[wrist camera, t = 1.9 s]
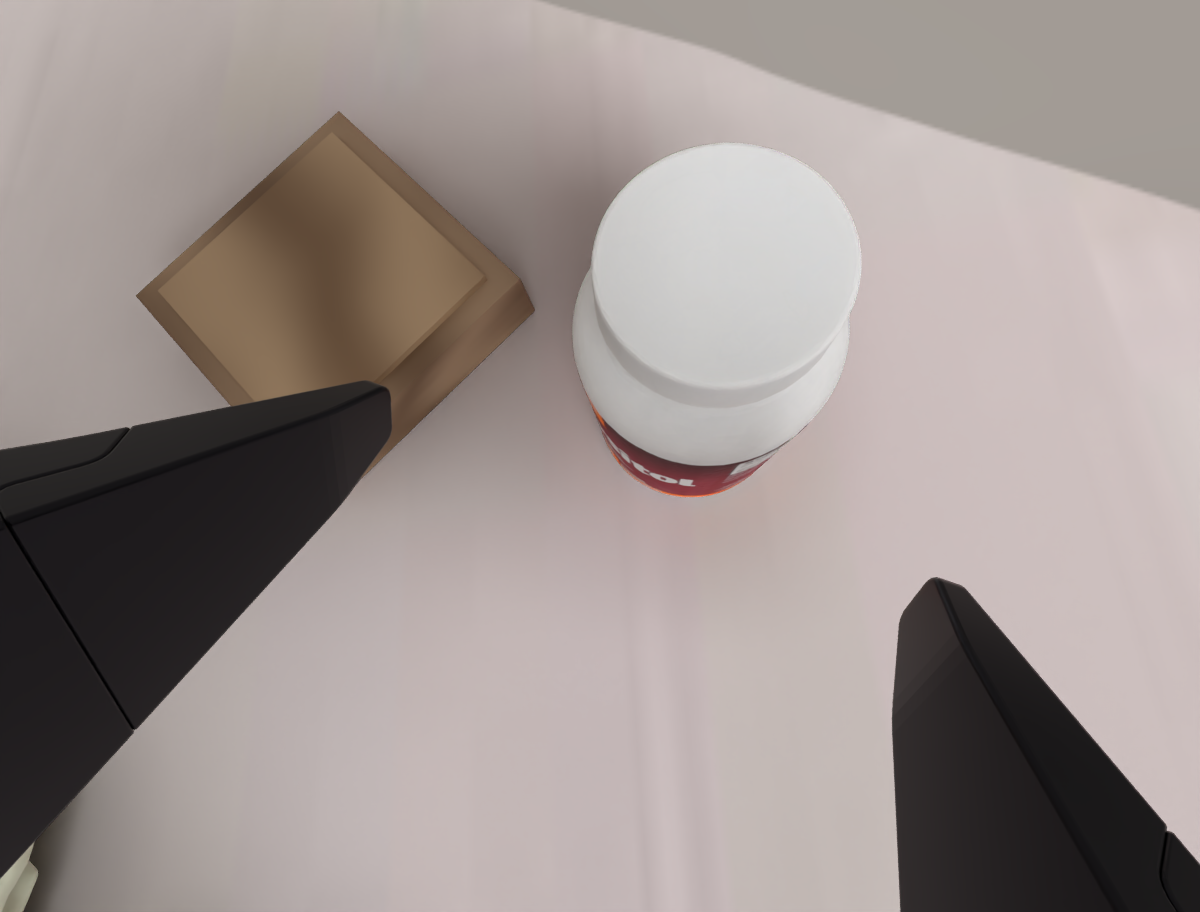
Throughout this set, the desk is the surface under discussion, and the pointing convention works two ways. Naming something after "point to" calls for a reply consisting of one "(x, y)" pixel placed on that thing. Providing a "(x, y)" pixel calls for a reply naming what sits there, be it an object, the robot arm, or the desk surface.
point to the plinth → (338, 285)
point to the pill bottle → (715, 313)
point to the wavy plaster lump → (18, 884)
